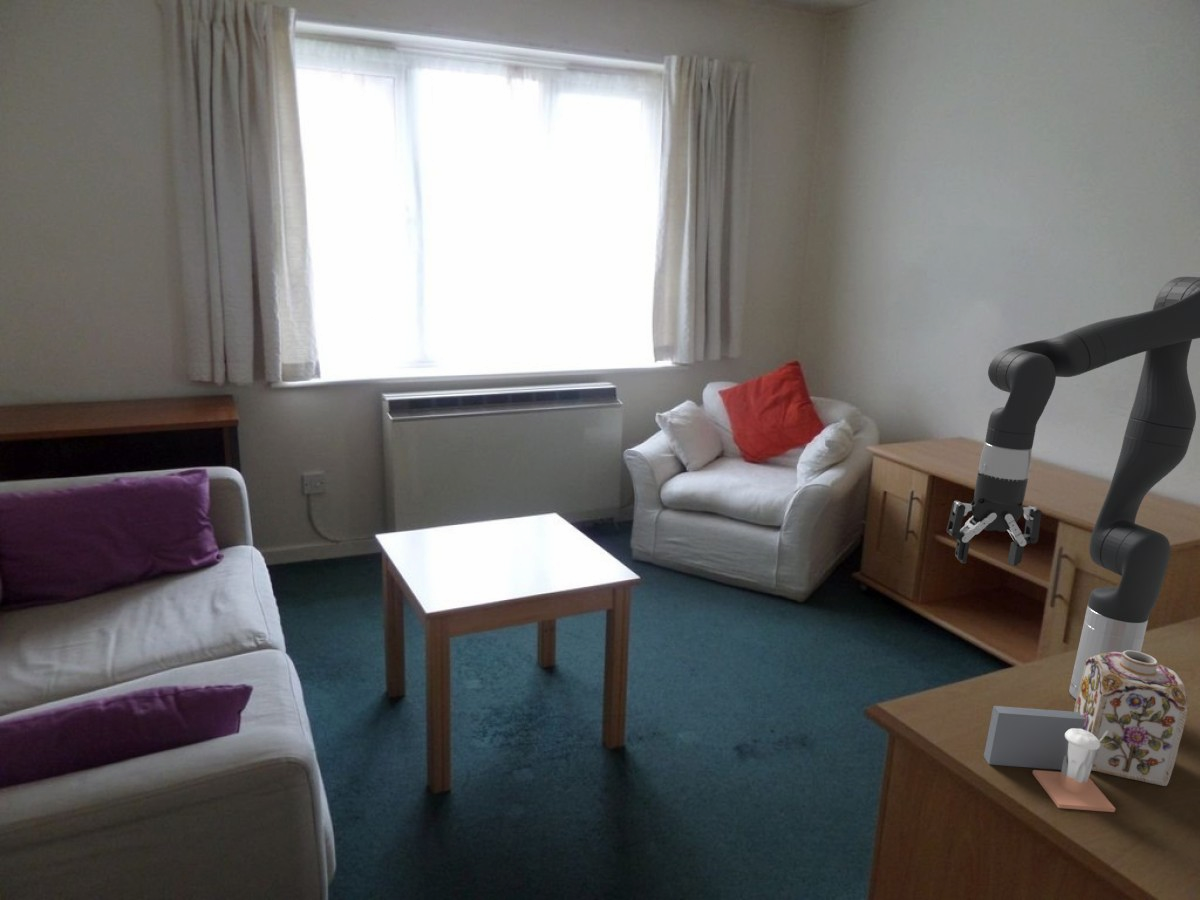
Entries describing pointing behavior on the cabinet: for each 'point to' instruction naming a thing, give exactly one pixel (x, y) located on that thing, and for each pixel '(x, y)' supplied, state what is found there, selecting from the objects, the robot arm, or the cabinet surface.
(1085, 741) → the milkshake
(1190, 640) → the cabinet surface
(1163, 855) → the cabinet surface
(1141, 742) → the decorative jar
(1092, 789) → the mat
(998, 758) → the screen
